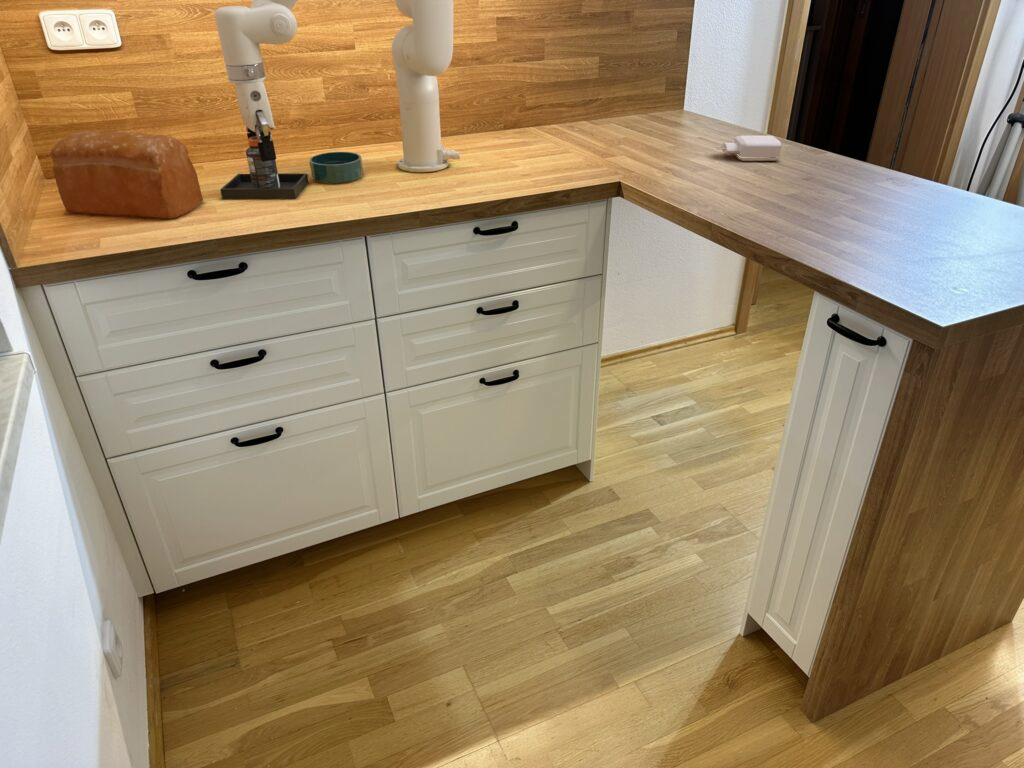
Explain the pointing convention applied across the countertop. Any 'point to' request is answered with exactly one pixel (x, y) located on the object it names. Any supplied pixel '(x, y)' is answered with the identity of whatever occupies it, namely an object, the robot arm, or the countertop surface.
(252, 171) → the pill bottle
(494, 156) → the countertop surface
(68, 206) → the bread
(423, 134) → the robot arm
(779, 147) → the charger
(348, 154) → the bowl
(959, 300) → the countertop surface
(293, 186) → the tray
